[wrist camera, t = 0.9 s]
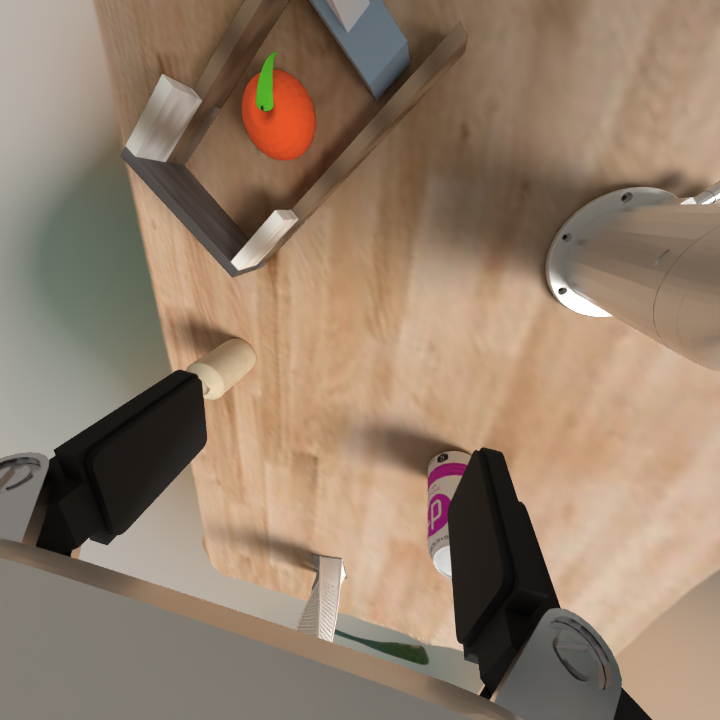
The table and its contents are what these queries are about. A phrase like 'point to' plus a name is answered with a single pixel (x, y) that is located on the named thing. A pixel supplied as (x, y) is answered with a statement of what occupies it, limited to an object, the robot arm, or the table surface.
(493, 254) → the table surface
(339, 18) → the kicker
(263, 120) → the clementine
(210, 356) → the candle
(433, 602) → the table surface
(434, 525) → the supplement can
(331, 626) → the skyscraper
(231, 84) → the frame
